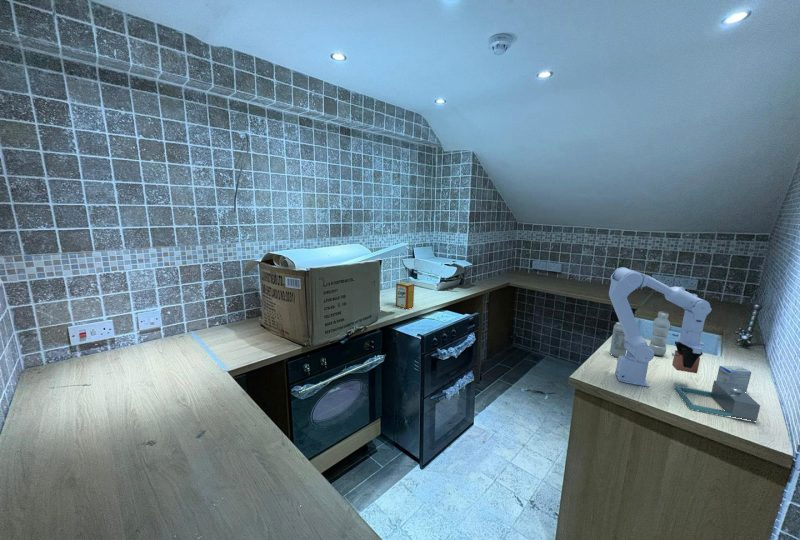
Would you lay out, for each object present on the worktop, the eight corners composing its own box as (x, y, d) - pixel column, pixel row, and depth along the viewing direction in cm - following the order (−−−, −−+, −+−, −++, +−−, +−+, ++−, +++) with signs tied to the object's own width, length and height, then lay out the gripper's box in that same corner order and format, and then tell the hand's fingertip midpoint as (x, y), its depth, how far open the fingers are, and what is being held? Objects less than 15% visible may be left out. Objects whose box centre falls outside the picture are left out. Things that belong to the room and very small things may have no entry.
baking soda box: (413, 307, 213) (414, 283, 210) (406, 309, 208) (407, 285, 206) (402, 304, 219) (402, 281, 217) (395, 306, 215) (396, 282, 212)
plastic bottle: (649, 355, 151) (656, 313, 147) (646, 350, 157) (653, 309, 153) (666, 358, 148) (674, 315, 144) (663, 353, 154) (670, 312, 150)
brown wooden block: (672, 369, 123) (674, 354, 122) (667, 364, 127) (670, 349, 126) (697, 373, 120) (700, 358, 119) (691, 368, 124) (694, 353, 123)
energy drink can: (624, 354, 151) (629, 323, 148) (625, 359, 146) (631, 327, 143) (609, 351, 154) (614, 320, 151) (609, 356, 149) (614, 324, 146)
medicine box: (734, 386, 125) (739, 365, 123) (746, 393, 121) (752, 371, 119) (714, 386, 125) (718, 365, 123) (726, 393, 120) (731, 371, 119)
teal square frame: (689, 409, 109) (693, 389, 108) (674, 389, 122) (677, 371, 121) (755, 423, 103) (761, 402, 102) (732, 400, 116) (736, 381, 114)
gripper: (715, 338, 112) (707, 375, 115) (696, 325, 126) (690, 358, 128) (689, 334, 115) (682, 371, 117) (673, 322, 128) (667, 355, 131)
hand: (684, 364), depth 123 cm, fingers closed on brown wooden block, 4 cm apart
